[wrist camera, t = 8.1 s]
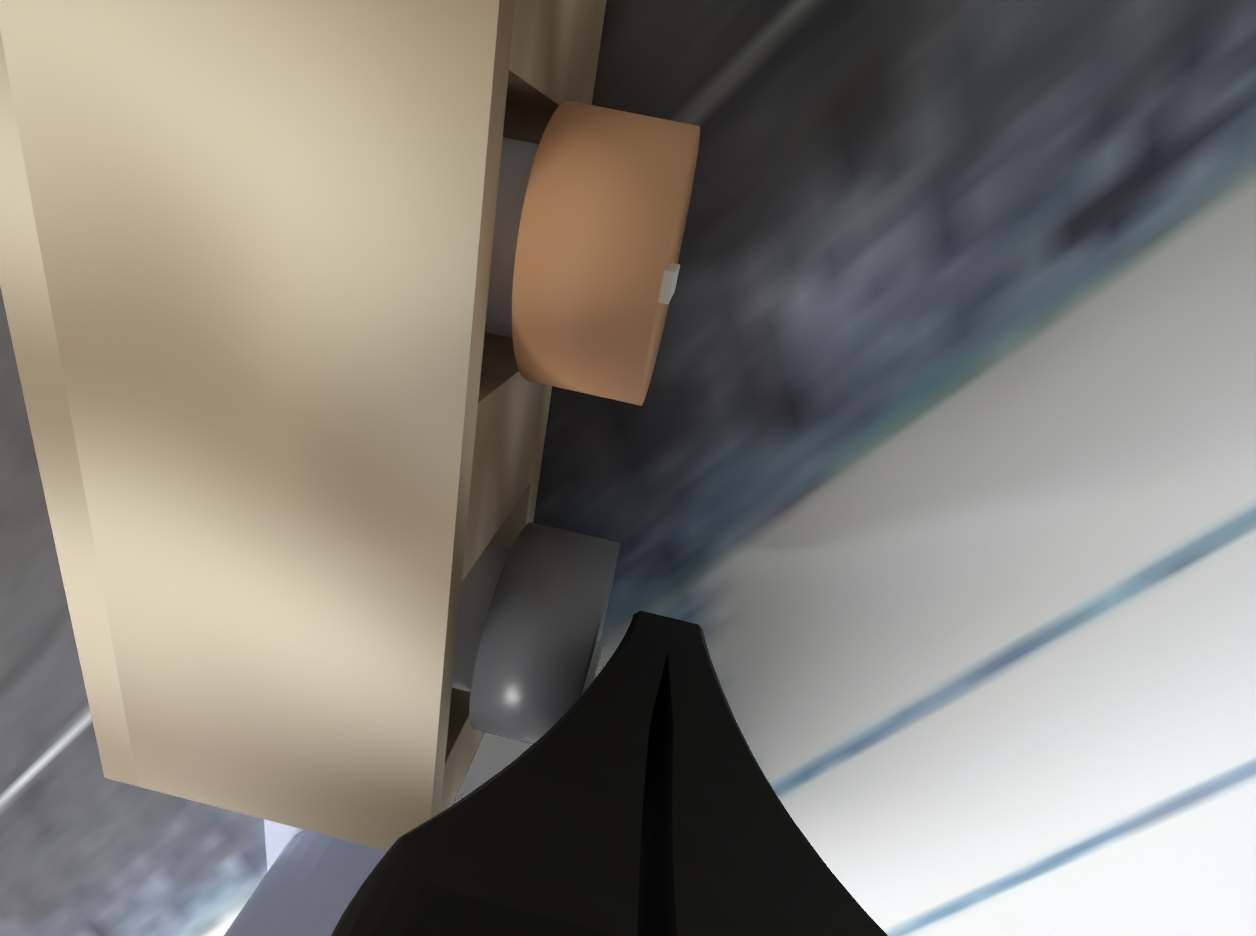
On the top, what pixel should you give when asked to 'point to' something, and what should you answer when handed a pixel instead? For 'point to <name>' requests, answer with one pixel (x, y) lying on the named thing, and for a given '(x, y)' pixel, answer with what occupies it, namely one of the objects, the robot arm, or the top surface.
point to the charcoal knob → (532, 628)
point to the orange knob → (590, 247)
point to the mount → (275, 374)
